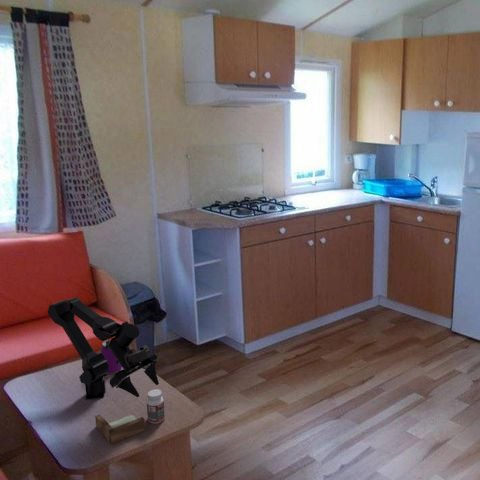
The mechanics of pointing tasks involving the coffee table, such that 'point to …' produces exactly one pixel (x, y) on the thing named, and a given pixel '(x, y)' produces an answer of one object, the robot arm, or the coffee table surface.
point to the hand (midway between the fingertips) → (148, 390)
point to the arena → (120, 427)
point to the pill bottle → (155, 406)
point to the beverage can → (110, 360)
